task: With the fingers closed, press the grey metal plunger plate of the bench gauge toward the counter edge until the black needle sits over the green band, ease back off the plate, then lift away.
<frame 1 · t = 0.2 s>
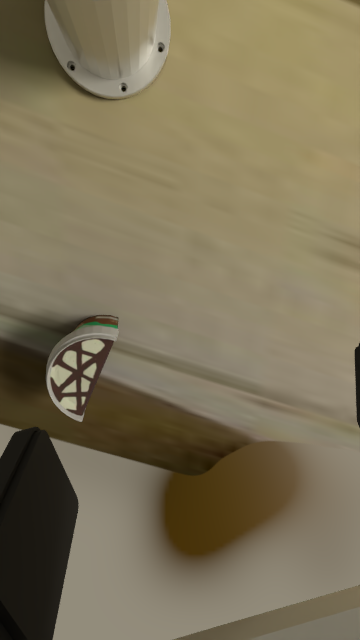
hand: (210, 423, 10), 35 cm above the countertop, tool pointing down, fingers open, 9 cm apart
food container: (85, 338, 45), on the countertop
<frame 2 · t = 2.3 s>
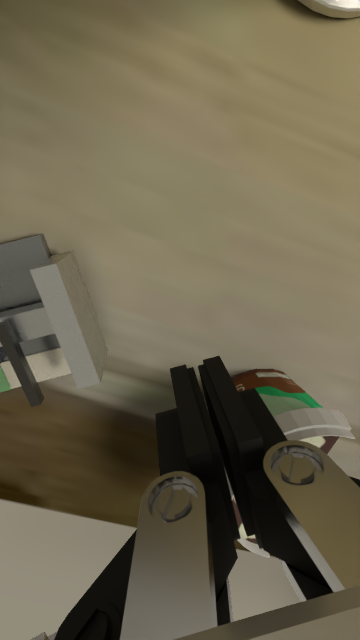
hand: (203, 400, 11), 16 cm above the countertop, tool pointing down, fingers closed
plunger: (25, 341, 22), point 4 cm above the countertop, slide at 0.0 cm
food container: (230, 401, 31), on the countertop
gauge body: (19, 316, 25), on the countertop
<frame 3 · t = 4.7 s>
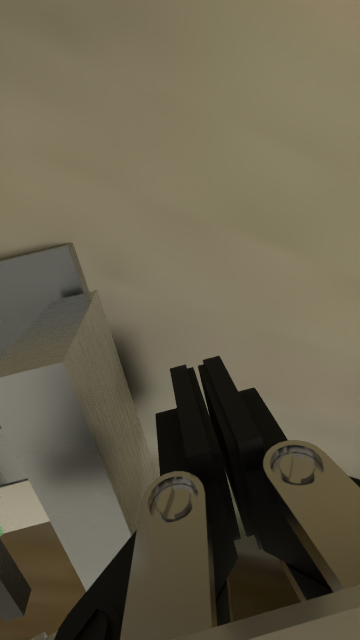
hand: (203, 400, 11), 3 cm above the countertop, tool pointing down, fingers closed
gauge body: (19, 402, 13), on the countertop
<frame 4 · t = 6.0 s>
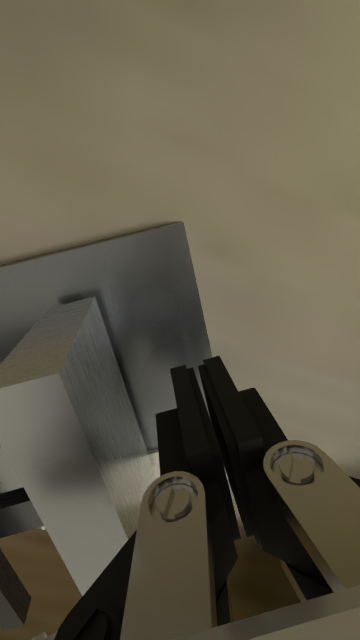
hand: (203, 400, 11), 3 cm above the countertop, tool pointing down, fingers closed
gauge body: (114, 383, 13), on the countertop
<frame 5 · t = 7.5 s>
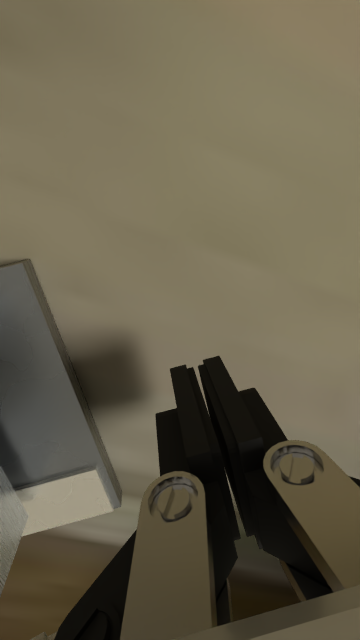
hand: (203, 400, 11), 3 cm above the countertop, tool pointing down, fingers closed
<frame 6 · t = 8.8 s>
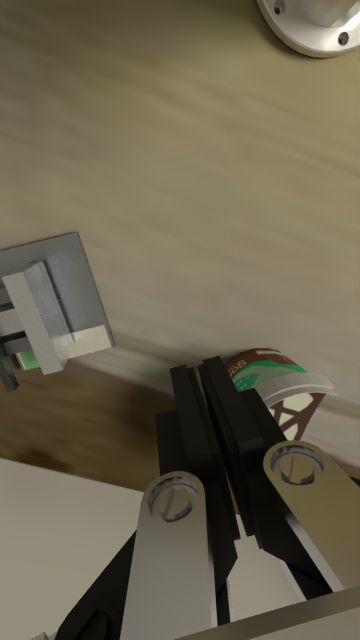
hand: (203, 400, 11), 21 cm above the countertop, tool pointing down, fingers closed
plunger: (1, 336, 26), point 4 cm above the countertop, slide at 5.3 cm
food container: (233, 377, 35), on the countertop
gauge body: (55, 301, 30), on the countertop
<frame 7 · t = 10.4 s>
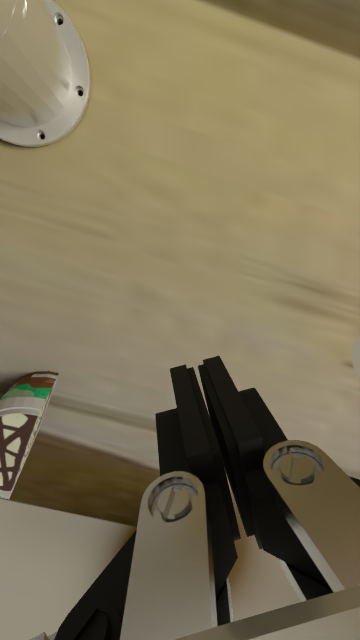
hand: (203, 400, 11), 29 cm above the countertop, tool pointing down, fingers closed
food container: (25, 395, 42), on the countertop
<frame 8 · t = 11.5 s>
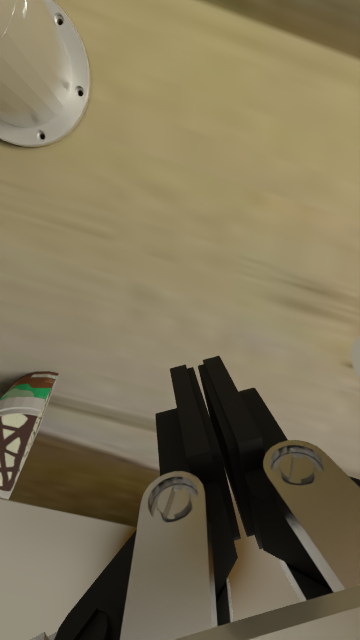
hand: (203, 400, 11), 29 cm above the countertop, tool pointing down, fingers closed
food container: (24, 395, 42), on the countertop
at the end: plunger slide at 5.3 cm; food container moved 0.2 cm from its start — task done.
